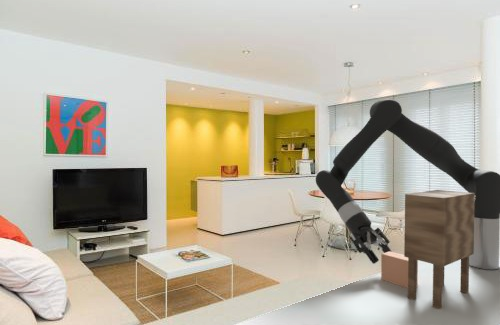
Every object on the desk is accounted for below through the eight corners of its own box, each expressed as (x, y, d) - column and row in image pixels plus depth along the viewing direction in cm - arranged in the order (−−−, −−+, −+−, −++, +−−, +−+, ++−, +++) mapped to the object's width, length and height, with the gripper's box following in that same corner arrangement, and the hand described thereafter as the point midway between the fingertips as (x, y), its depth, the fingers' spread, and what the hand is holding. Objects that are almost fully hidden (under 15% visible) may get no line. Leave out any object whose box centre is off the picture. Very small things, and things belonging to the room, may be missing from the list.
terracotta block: (389, 276, 107) (389, 251, 106) (417, 285, 99) (417, 258, 99) (381, 279, 104) (381, 253, 104) (409, 288, 97) (409, 261, 97)
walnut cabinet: (431, 280, 103) (433, 189, 102) (472, 293, 93) (474, 193, 93) (399, 295, 92) (400, 193, 91) (442, 310, 83) (444, 198, 82)
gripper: (347, 213, 108) (378, 257, 99) (373, 209, 116) (404, 249, 107) (334, 226, 112) (363, 270, 103) (360, 221, 121) (388, 261, 112)
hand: (384, 259), depth 105 cm, fingers open, 8 cm apart
